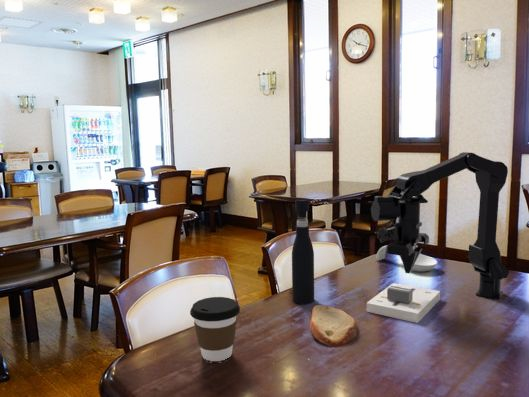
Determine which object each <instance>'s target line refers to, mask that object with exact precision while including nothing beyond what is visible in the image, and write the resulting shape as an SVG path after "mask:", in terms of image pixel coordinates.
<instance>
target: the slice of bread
mask: <svg viewBox="0 0 529 397" xmlns="http://www.w3.org/2000/svg"><path fill="white" fill-rule="evenodd" d="M309 330H310V332H311V334H312V336H313V337H314V338H315V339H316V340H317V341H318V342H320V343H321V344H322V345H326V346H328V347H334V348H335V347H341V346H345V345H347V344H348V343H349V342H350V341H351V340H353V339H355V337H356V336H357V332H358V331H357V325H356V320H355V319H354V317H353V316H351V315H349V314H347V312H345V311H343V310H342V309H339V308H337V307H333V306H330V305H329V306H328V305H324V304H318V305H316V304H315V305H314V307H313V308H312V310H311V315H310V321H309Z"/></svg>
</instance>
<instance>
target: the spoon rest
mask: <svg viewBox="0 0 529 397" xmlns="http://www.w3.org/2000/svg"><path fill="white" fill-rule="evenodd" d="M386 246H387V245H384V246H381V247H380V248H379V249H378V251H377V253H376V256H375V261H383V260H385V258H386ZM398 257H399V258H400V260H401V261H402V259H401V256H400V255H398ZM382 259H383V260H382ZM437 265H438V261H437V260H436V259H434V258H433V257H431V256H428V255H425V254H422V253H420V254H419V256H418V258H417V260H416V262H415V264H414V266H413V268H412V271H411V272H415V271H417V273H424V272H425V273H426V272H428V271H431V270H433V269H434V268H436V267H437Z"/></svg>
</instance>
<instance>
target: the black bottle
mask: <svg viewBox="0 0 529 397" xmlns="http://www.w3.org/2000/svg"><path fill="white" fill-rule="evenodd" d="M294 205H295V206H294V207H295V212H296V213H297V220H296V225H295V238H294V242H293V244H292V250H291V287H292V292H291V294H292V296H291V297H292V302H293V303H295V304H299V305H311V304H312V303H314V302H315V252H314V247H313V242H312V240H311V236H310V225H309V221H308V215H307V214H308V212H310V200H309V199H306V198H298V199H295V204H294Z"/></svg>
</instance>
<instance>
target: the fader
mask: <svg viewBox="0 0 529 397" xmlns="http://www.w3.org/2000/svg"><path fill="white" fill-rule="evenodd" d="M388 287H389V286H388ZM412 298H413V290H411V289H406V288H400V287H395V286H391V287H389V288H388V289H387V299H388V300H393V301H398V302H403V303H408V304H409V303H410V302H411V301H412Z"/></svg>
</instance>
